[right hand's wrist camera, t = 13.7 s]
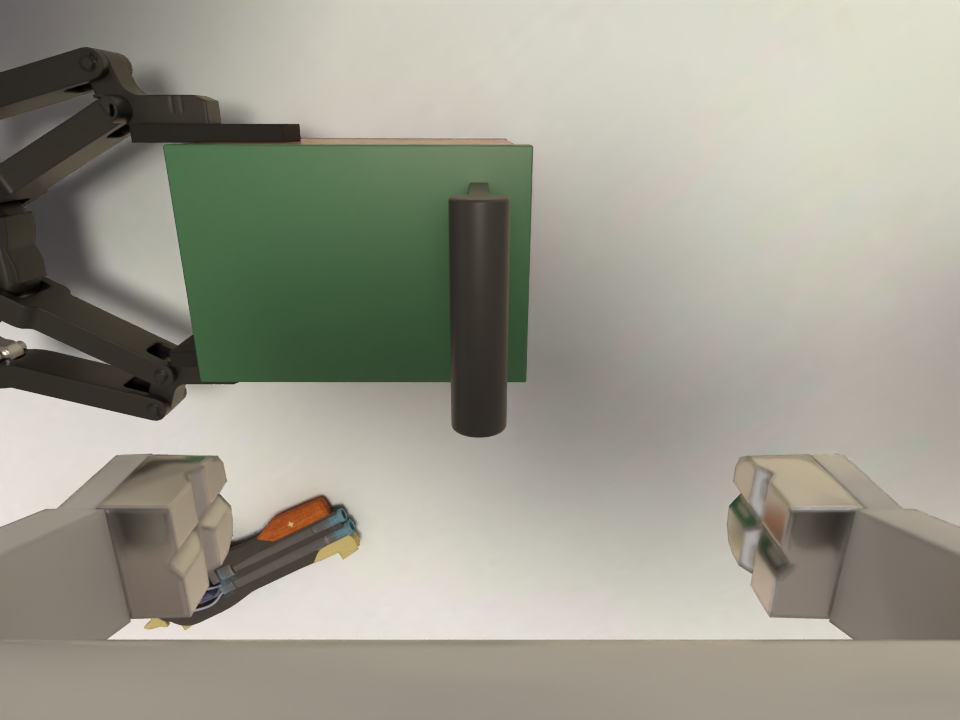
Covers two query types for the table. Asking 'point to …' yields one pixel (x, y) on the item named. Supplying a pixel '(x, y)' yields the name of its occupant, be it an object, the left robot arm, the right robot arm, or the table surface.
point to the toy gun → (274, 556)
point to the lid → (359, 265)
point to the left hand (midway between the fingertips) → (302, 248)
